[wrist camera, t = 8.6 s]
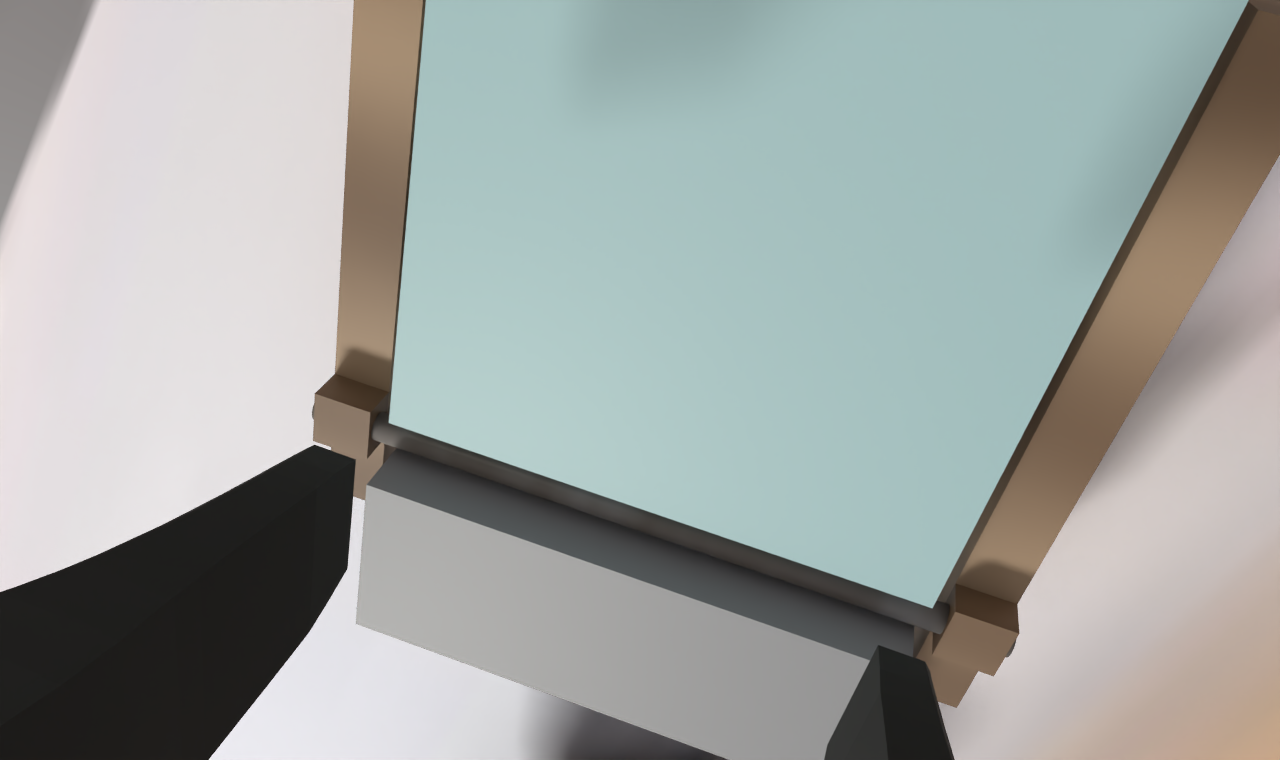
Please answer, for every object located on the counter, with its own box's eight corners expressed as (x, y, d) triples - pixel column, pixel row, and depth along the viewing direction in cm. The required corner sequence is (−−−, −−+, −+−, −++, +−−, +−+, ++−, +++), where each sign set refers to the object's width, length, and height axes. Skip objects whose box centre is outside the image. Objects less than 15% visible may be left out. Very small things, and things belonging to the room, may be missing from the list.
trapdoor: (854, 713, 23) (844, 802, 21) (405, 553, 24) (355, 623, 22) (1254, -85, 14) (1302, -59, 12) (495, -281, 15) (425, -287, 13)
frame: (961, 581, 25) (961, 739, 21) (405, 394, 26) (306, 507, 22) (1279, -18, 17) (1377, 50, 13) (466, -234, 19) (332, -231, 15)
